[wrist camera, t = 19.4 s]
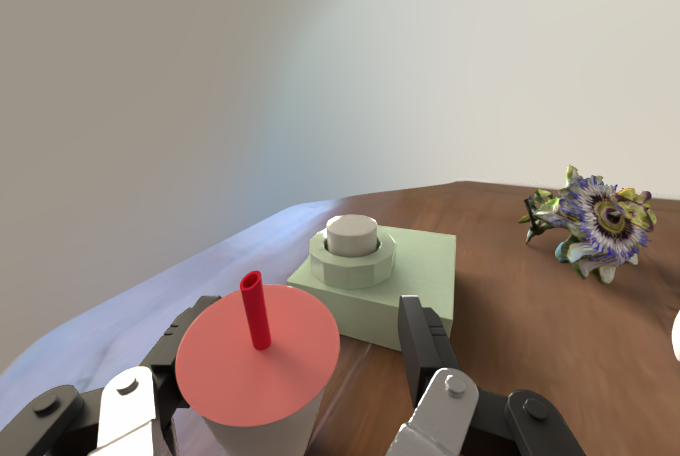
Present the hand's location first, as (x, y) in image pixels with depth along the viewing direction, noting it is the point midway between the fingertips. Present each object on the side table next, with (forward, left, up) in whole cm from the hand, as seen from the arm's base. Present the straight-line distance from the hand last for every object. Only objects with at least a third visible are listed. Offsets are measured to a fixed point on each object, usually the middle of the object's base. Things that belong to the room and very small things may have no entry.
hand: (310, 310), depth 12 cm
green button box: (0, +12, -8) cm, 14 cm away
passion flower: (+17, +24, -8) cm, 31 cm away
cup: (-2, -2, -8) cm, 8 cm away
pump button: (-2, +10, -2) cm, 10 cm away
